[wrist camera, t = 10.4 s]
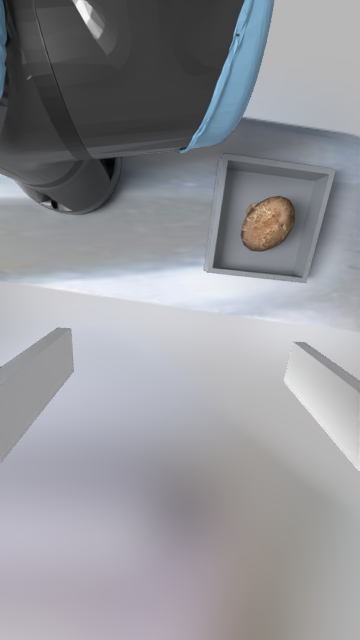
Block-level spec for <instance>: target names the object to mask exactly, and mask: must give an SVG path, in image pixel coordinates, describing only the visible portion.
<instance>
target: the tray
mask: <svg viewBox="0 0 360 640" xmlns="http://www.w3.org/2000/svg"><path fill="white" fill-rule="evenodd" d="M335 171H336V169H332V168H325V167H318V166H311V165H304V164H297V163H290V162H283V161H276V160H269V159H262V158H255V157H248V156H241V155H234V154H227V153H224V154H223V156H222V157H221V159H220V161H219V163H218V167H217V175H216V182H215V190H214V197H213V204H212V212H211V219H210V227H209V234H208V241H207V249H206V256H205V264H204V271H206V272H208V273H217V274H226V275H236V276H245V277H254V278H263V279H273V280H282V281H291V282H300V283H306V282H307V278H308V274H309V270H310V266H311V263H312V259H313V255H314V251H315V247H316V244H317V240H318V236H319V232H320V228H321V225H322V221H323V217H324V213H325V209H326V206H327V202H328V198H329V194H330V190H331V187H332V183H333V179H334V175H335ZM275 196H282V197H285V198H287V199H289V200H290V201H291V202H292V204H293V206H294V209H295V222H294V225H293V228H292V230H291V232H290V233H289V235H288V236H287V238H286V239H285V240H284V241H283V242H281V243H280V244H279V245H277V246H275V247H274V248H272V249H269V250H266V251H262V252H258V251H251V250H249V249H248V248H247V247H246V246H244V245H243V242H242V239H241V236H240V235H241V230H242V224H243V222H244V220H245V218H246V216H247V214H246V210H247V208H248V207H249V206H250V205H251V204H252V203H259V202H261V201H263V200H265V199H267V198H269V197H275Z"/></svg>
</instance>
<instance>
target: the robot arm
mask: <svg viewBox="0 0 360 640" xmlns="http://www.w3.org/2000/svg"><path fill="white" fill-rule="evenodd" d="M273 5H274V0H0V174H2V175H4V176H7V177H9V178H11V179H14V181H15V182H16V183H17V184H18V185H19V186H20V188H21V189H22V190H23V191H24V192H25V193H26V194H27V195H28V196H29V197H31V198H32V199H33V200H35V201H36V202H37V203H39V204H41V205H42V206H44V207H46V208H48V209H51V210H54V211H57V212H60V213H64V214H70V215H79V214H85V213H88V212H91V211H93V210H95V209H97V208H99V207H100V206H102V205H103V204H104V203H105V202H106V201H107V200H108V199H109V198H110V196H111V195H112V193H113V192H114V190H115V188H116V186H117V183H118V180H119V176H120V170H121V157H123V156H133V155H143V154H152V153H162V152H171V151H177V152H178V153H185V152H187V151H189V150H190V149H193V148H200V147H206V146H212V145H216V144H219V143H221V142H223V141H224V140H225V139H226V138H227V137H228V136H229V135H230V134H231V133H232V132H233V131H234V130H235V128H236V127H237V125H238V124H239V122H240V120H241V118H242V116H243V114H244V112H245V109H246V107H247V105H248V102H249V100H250V97H251V95H252V92H253V89H254V86H255V83H256V79H257V76H258V72H259V69H260V66H261V62H262V58H263V54H264V49H265V46H266V41H267V37H268V32H269V27H270V22H271V17H272V11H273ZM73 372H74V367H73V352H72V334H71V329H70V328H56V329H55V330H54V331H52V332H51V333H49V334H48V335H46V336H45V337H43V338H42V339H41V340H39V341H38V342H36V343H35V344H33V345H32V346H30V347H29V348H28V349H26V350H25V351H23V352H22V353H20V354H19V355H18V356H16V357H15V358H13V359H12V360H11V361H9V362H8V363H6V364H5V365H4V366H2V367H0V464H1V462H2V461H3V460H4V459H5V457H6V456H7V455H8V454H9V452H10V451H11V450H12V448H13V447H14V446H15V445H16V443H17V442H18V441H19V440H20V439H21V437H22V436H23V435H24V434H25V432H26V431H27V430H28V428H29V427H30V426H31V425H32V423H33V422H34V421H35V420H36V418H37V417H38V416H39V415H40V413H41V412H42V411H43V410H44V408H45V407H46V406H47V404H48V403H49V402H50V401H51V399H52V398H53V397H54V396H55V394H56V393H57V392H58V391H59V389H60V388H61V387H62V386H63V384H64V383H65V382H66V380H67V379H68V378H69V377H70V375H71V374H72V373H73ZM284 383H285V384H286V385H287V386H288V387H289V389H290V390H291V391H292V392H293V393H294V394H295V396H296V397H297V398H298V399H299V400H300V402H301V403H302V404H303V405H304V406H305V407H306V409H307V410H308V411H309V412H310V414H311V415H312V416H313V417H314V418H315V419H316V421H317V422H318V423H319V424H320V425H321V427H322V428H323V429H324V430H325V431H326V433H327V434H328V435H329V436H330V437H331V438H332V440H333V441H334V442H335V443H336V444H337V445H338V447H339V448H340V449H341V450H342V452H343V453H344V454H345V455H346V456H347V457H348V459H349V460H350V461H351V462H352V463H353V465H354V466H355V467H356V468H357V469H358V471H359V472H360V381H359V380H358V379H357V378H355V377H354V376H352V375H351V374H349V373H348V372H347V371H345V370H344V369H342V368H341V367H339V366H338V365H337V364H335V363H334V362H332V361H331V360H330V359H328V358H327V357H325V356H324V355H322V354H321V353H319V352H318V351H317V350H315V349H314V348H312V347H311V346H310V345H308V344H307V343H305V342H293V345H292V349H291V353H290V357H289V362H288V366H287V371H286V375H285V379H284Z"/></svg>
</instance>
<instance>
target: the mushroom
mask: <svg viewBox="0 0 360 640" xmlns="http://www.w3.org/2000/svg"><path fill="white" fill-rule="evenodd" d="M246 214H247V216H246V218H245V220H244V222H243V224H242V230H241V235H240V236H241V239H242V242H243V245H244V246H246V247H247V248H248V249H249V250H251V251H258V252H262V251H266V250H269V249H272V248H274V247H275V246H277V245H279V244H280V243H281V242H283V241H284V240H285V239H286V238H287V236H288V235H289V233H290V232H291V230H292V228H293V225H294V222H295V209H294V206H293V204H292V202H291V201H290V200H289V199H287V198H285V197H282V196H275V197H269V198H267V199H265V200H263V201H261V202H259V203H252V204H251V205H250V206H249V207H248V208H247V210H246Z"/></svg>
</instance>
